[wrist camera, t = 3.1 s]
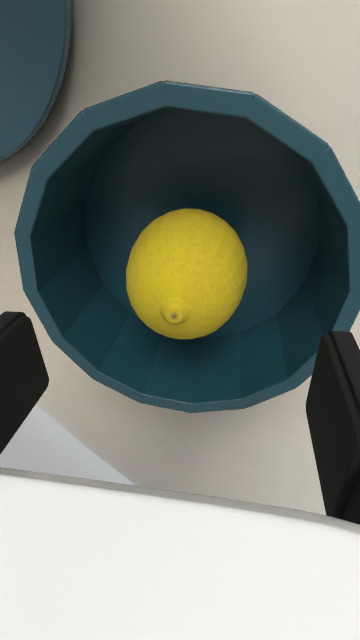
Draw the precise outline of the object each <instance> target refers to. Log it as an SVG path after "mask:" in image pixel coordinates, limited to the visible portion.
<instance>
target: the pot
mask: <svg viewBox="0 0 360 640" xmlns="http://www.w3.org/2000/svg"><path fill="white" fill-rule="evenodd" d="M184 208H188V209H201V210H204V211H208V212H211V213H213V214H215V215H216V216H218V217H220V218H221V219H223V220H225V221H226V222H227V223H228V224H229V225H230V226H231V227H232V228H233V229H234V230H235V232H236V234H237V235H238V237H239V239H240V241H241V243H242V244H243V247H244V251H245V255H246V259H247V283H246V287H245V290H244V293H243V296H242V299H241V301H240V303H239V305H238V307H237V308H236V310H235V311H234V313H233V314H232V316H231V317H230V318H229V320H228V321H226V322H225V323H224V324H223V325H222V326H221V327H219V328H218V329H217V330H216V331H214V332H212V333H210V334H208V335H206V336H203V337H198V338H194V339H175V338H170V337H166V336H164V335H162V334H159V333H157V332H155V331H154V330H152V329H151V328H149V327H148V326H147V325H146V324H145V323H144V322H143V321H142V320H141V319H140V318H139V317H138V316H137V314H136V312H135V311H134V309H133V307H132V305H131V303H130V299H129V296H128V293H127V287H126V268H127V264H128V260H129V256H130V252H131V250H132V247H133V246H134V244H135V242H136V241H137V239H138V237H139V235H140V234H141V232H142V231H143V230H144V229H145V228H146V227H147V226H148V225H149V224H150V223H151V222H152V221H154V220H155V219H157V218H158V217H160V216H162V215H164V214H166V213H168V212H170V211H175V210H179V209H184ZM14 233H15V240H16V246H17V252H18V259H19V265H20V271H21V278H22V284H23V290H24V292H25V294H26V296H27V298H28V299H29V301H30V303H31V305H32V306H33V308H34V310H35V312H36V314H37V315H38V317H39V319H40V321H41V322H42V324H43V326H44V328H45V329H46V331H47V333H48V335H49V337H50V338H51V340H52V341H53V343H54V344H55V345H57V346H58V347H59V348H60V349H61V350H62V351H63V352H64V353H65V354H66V355H67V356H68V357H69V358H71V359H72V360H73V361H74V362H75V363H76V364H77V365H78V366H79V367H80V368H81V369H82V370H84V371H85V372H86V373H87V374H88V375H89V376H90V377H91V378H93V379H94V380H96V381H98V382H100V383H102V384H104V385H106V386H108V387H110V388H111V389H113V390H115V391H117V392H119V393H121V394H123V395H125V396H127V397H129V398H131V399H133V400H135V401H137V402H140V403H143V404H148V405H153V406H158V407H163V408H168V409H174V410H179V411H184V412H189V413H192V412H193V413H197V412H209V411H222V410H234V409H244V408H248V407H251V406H253V405H256V404H258V403H261V402H263V401H265V400H268V399H270V398H273V397H275V396H278V395H280V394H283V393H285V392H288V391H290V390H293V389H295V388H296V387H298V386H300V385H301V384H302V383H303V382H304V381H305V380H306V379H307V378H309V377H310V376H311V375H312V374H313V369H314V365H315V360H316V356H317V351H318V347H319V343H320V338H321V336H322V335H328V333H329V331H343V332H349V331H350V329H351V327H352V325H353V323H354V321H355V319H356V317H357V315H358V312H359V310H360V201H359V200H358V198H357V196H356V194H355V192H354V190H353V188H352V186H351V184H350V182H349V180H348V179H347V177H346V175H345V173H344V171H343V169H342V167H341V165H340V163H339V161H338V160H337V158H336V156H335V154H334V152H333V150H332V148H331V147H330V146H329V145H328V143H326V142H325V141H324V140H322V139H321V138H319V137H318V136H316V135H315V134H313V133H312V132H311V131H309V130H308V129H306V128H305V127H303V126H302V125H301V124H299V123H298V122H296V121H295V120H293V119H292V118H291V117H289V116H288V115H286V114H285V113H283V112H282V111H281V110H279V109H278V108H276V107H275V106H273V105H272V104H271V103H269V102H268V101H266V100H265V99H263V98H262V97H261V96H259V95H258V94H254V93H253V92H247V91H239V90H232V89H225V88H217V87H210V86H203V85H195V84H188V83H180V82H173V81H159V82H157V83H154V84H151V85H148V86H146V87H143V88H140V89H137V90H135V91H132V92H129V93H126V94H124V95H121V96H118V97H115V98H113V99H110V100H107V101H104V102H102V103H99V104H96V105H93V106H91V107H88V108H85V109H84V110H83V111H81V112H80V113H79V114H78V115H77V116H76V117H75V118H74V120H73V121H72V122H71V123H70V124H69V125H68V126H67V127H66V128H65V130H64V131H63V132H62V133H61V134H60V135H59V136H58V137H57V138H56V140H55V141H54V142H53V143H52V144H51V145H50V146H49V147H48V149H47V150H46V151H45V152H44V153H43V154H42V155H41V156H40V157H39V159H38V160H37V161H36V162H35V163H34V164H33V167H32V168H31V172H30V175H29V179H28V183H27V187H26V190H25V194H24V198H23V202H22V205H21V209H20V213H19V216H18V220H17V224H16V228H15V231H14Z"/></svg>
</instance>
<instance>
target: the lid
mask: <svg viewBox="0 0 360 640" xmlns="http://www.w3.org/2000/svg"><path fill="white" fill-rule="evenodd" d="M70 34H71V0H0V161H1V160H3V159H5V158H7V157H9V156H11V155H12V154H14V153H15V152H17V151H18V150H20V149H21V148H23V147H24V146H25V145H26V144H27V143H28V142H29V141H30V140H31V139H32V138H33V137H34V136H35V135H36V133H37V132H38V130H39V129H40V128H41V126H42V125H43V123H44V122H45V121H46V119H47V117H48V115H49V113H50V111H51V109H52V107H53V105H54V103H55V101H56V99H57V96H58V93H59V90H60V87H61V84H62V81H63V78H64V73H65V68H66V64H67V59H68V54H69V44H70Z"/></svg>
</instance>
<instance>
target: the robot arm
mask: <svg viewBox="0 0 360 640" xmlns="http://www.w3.org/2000/svg"><path fill="white" fill-rule="evenodd" d="M48 383H49V377H48V374H47V370H46V367H45V364H44V361H43V357H42V354H41V351H40V348H39V344H38V341H37V338H36V335H35V331H34V328H33V325H32V322H31V319H30V318H29V317H27V316H26V315H25V313H23V312H8V311H7V312H4V313H2V314H1V315H0V454H1V452H2V451H3V450H4V448H5V447H6V446H7V444H8V442H9V441H10V440H11V438H12V437H13V436H14V434H15V433H16V431H17V430H18V428H19V427H20V426H21V424H22V423H23V421H24V420H25V418H26V417H27V416H28V414H29V413H30V411H31V410H32V408H33V407H34V406H35V404H36V403H37V401H38V400H39V398H40V397H41V396H42V394H43V393H44V391H45V390H46V388H47V387H48ZM306 414H307V419H308V424H309V429H310V434H311V439H312V444H313V449H314V455H315V460H316V465H317V470H318V475H319V480H320V485H321V490H322V495H323V500H324V506H325V511H326V515H327V516H325V515H320V514H315V513H310V512H306V511H301V510H295V509H289V508H283V507H276V506H270V505H264V504H258V503H251V502H245V501H239V500H232V499H225V498H218V497H211V496H204V495H197V494H190V493H183V492H176V491H169V490H162V489H155V488H148V487H141V486H133V485H126V484H119V483H112V482H104V481H97V480H90V479H82V478H75V477H68V476H60V475H53V474H46V473H38V472H30V471H22V470H16V469H7V468H0V640H360V350H359V348H358V345H357V343H356V341H355V339H354V337H353V335H352V333H351V332H343V331H329V333H328V335H322V336H321V338H320V343H319V347H318V351H317V356H316V360H315V365H314V369H313V374H312V378H311V383H310V387H309V392H308V396H307V401H306Z"/></svg>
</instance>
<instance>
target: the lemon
mask: <svg viewBox="0 0 360 640" xmlns="http://www.w3.org/2000/svg"><path fill="white" fill-rule="evenodd" d="M246 283H247V259H246V255H245V251H244V247H243V244H242V243H241V241H240V239H239V237H238V235H237V234H236V232H235V230H234V229H233V228H232V227H231V226H230V225H229V224H228V223H227V222H226V221H225V220H223V219H221V218H220V217H218V216H216V215H215V214H213V213H211V212H208V211H204V210H201V209H188V208H184V209H179V210H175V211H170V212H168V213H166V214H164V215H162V216H160V217H158V218H157V219H155V220H154V221H152V222H151V223H150V224H149V225H148V226H147V227H146V228H145V229H144V230H143V231H142V232H141V234H140V235H139V237H138V239H137V241H136V242H135V244H134V246H133V247H132V250H131V252H130V256H129V260H128V264H127V268H126V287H127V293H128V296H129V299H130V303H131V305H132V307H133V309H134V311H135V312H136V314H137V316H138V317H139V318H140V319H141V320H142V321H143V322H144V323H145V324H146V325H147V326H148V327H149V328H151V329H152V330H154V331H155V332H157V333H159V334H162V335H164V336H166V337H170V338H175V339H194V338H198V337H203V336H206V335H208V334H210V333H212V332H214V331H216V330H217V329H218V328H219V327H221V326H222V325H223V324H224V323H225V322H226V321H228V320H229V318H230V317H231V316H232V314H233V313H234V311H235V310H236V308H237V307H238V305H239V303H240V301H241V299H242V296H243V293H244V290H245V287H246Z"/></svg>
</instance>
